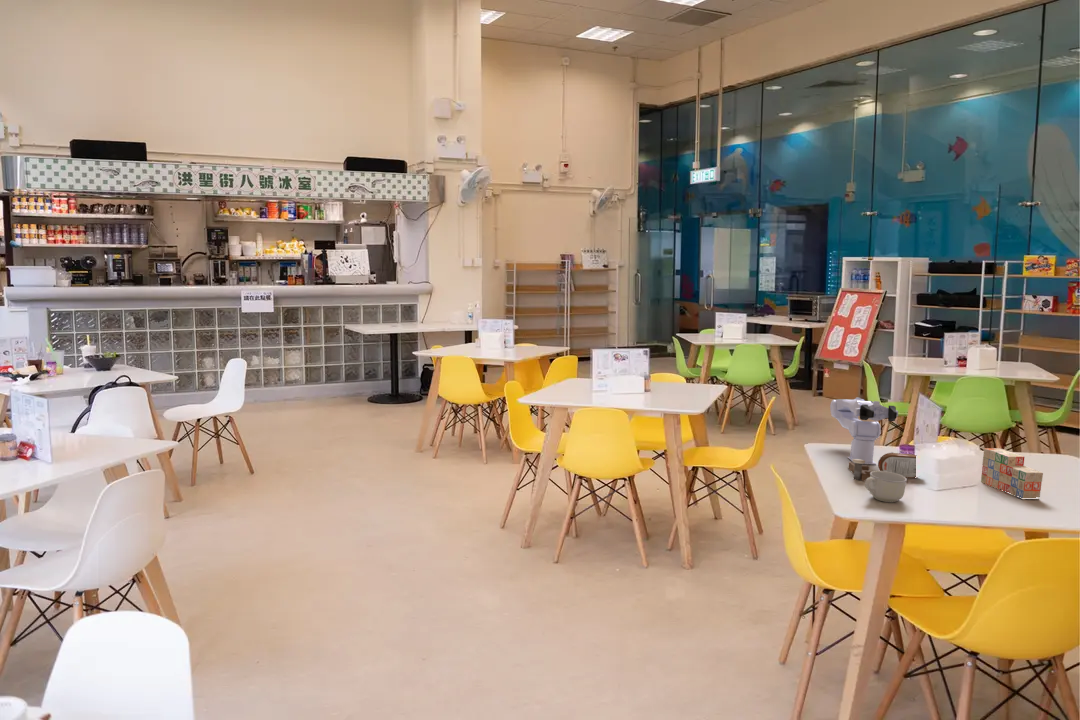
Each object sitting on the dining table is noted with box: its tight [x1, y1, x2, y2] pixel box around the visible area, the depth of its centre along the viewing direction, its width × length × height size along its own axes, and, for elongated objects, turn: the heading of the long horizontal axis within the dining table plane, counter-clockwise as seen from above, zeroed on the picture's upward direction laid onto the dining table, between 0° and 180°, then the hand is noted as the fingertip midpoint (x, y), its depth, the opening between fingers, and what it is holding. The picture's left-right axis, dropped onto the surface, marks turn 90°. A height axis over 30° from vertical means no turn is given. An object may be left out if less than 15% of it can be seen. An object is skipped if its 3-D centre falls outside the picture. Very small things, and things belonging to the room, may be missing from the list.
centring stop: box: [847, 459, 873, 482], centre depth 286 cm, size 16×8×7 cm, turn 175°
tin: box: [877, 452, 917, 479], centre depth 284 cm, size 15×3×8 cm, turn 84°
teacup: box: [864, 470, 908, 503], centre depth 256 cm, size 14×11×8 cm
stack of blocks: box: [980, 447, 1044, 498], centre depth 272 cm, size 21×6×12 cm, turn 6°
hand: (884, 414), depth 284 cm, fingers open, 7 cm apart
